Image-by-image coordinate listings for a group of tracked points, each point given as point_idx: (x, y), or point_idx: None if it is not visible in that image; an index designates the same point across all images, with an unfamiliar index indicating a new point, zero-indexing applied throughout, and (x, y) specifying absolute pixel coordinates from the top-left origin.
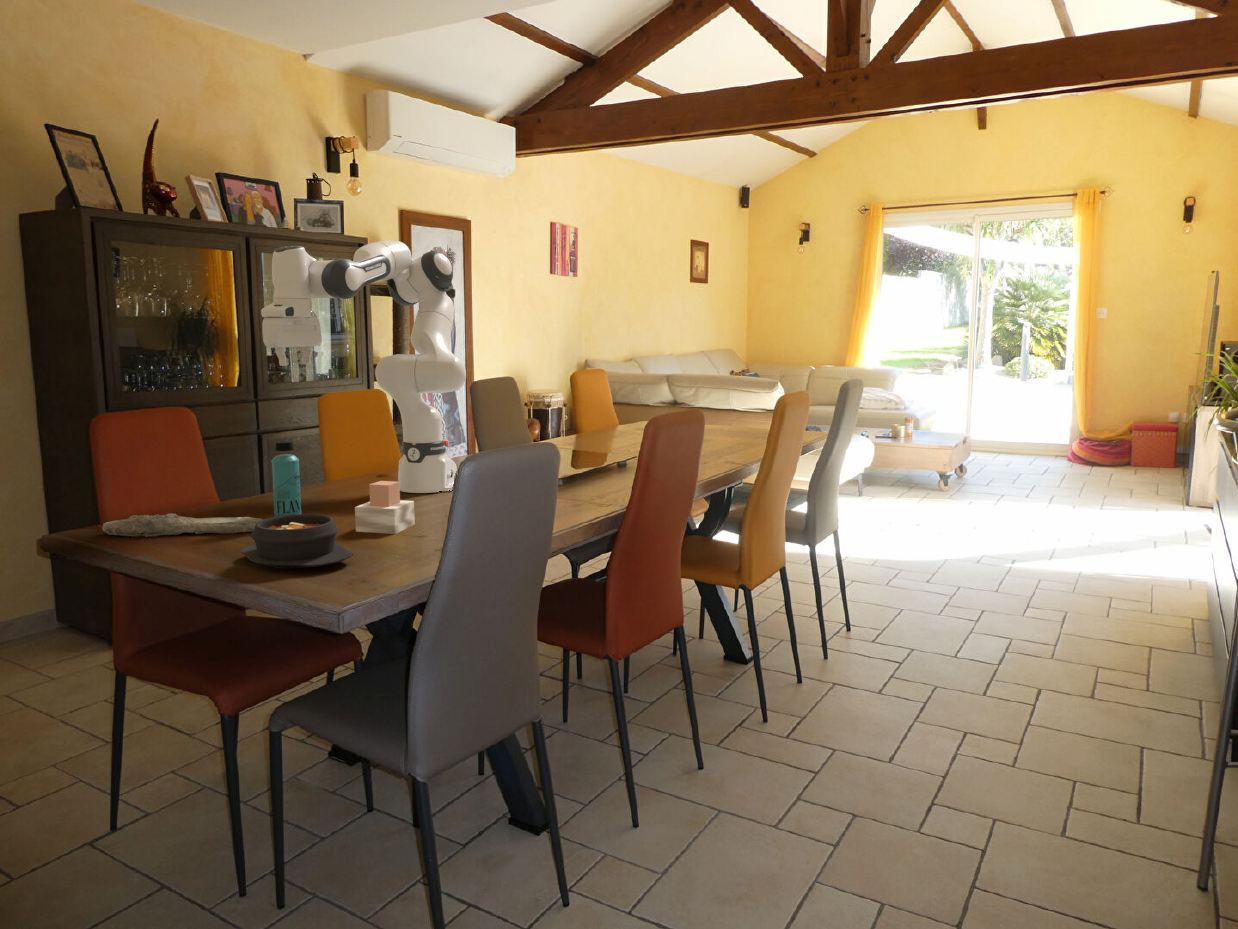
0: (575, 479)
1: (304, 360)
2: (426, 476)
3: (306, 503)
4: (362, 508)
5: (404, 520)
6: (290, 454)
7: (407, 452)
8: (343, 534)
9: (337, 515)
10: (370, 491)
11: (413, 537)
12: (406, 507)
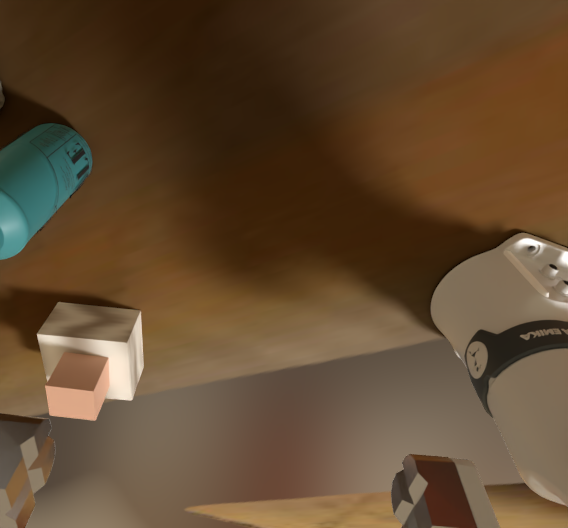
0: None
1: (414, 504)
2: (451, 341)
3: (305, 81)
4: (40, 345)
5: None
6: (3, 235)
7: (488, 348)
8: (27, 291)
9: (178, 220)
10: (52, 375)
11: None
12: None
